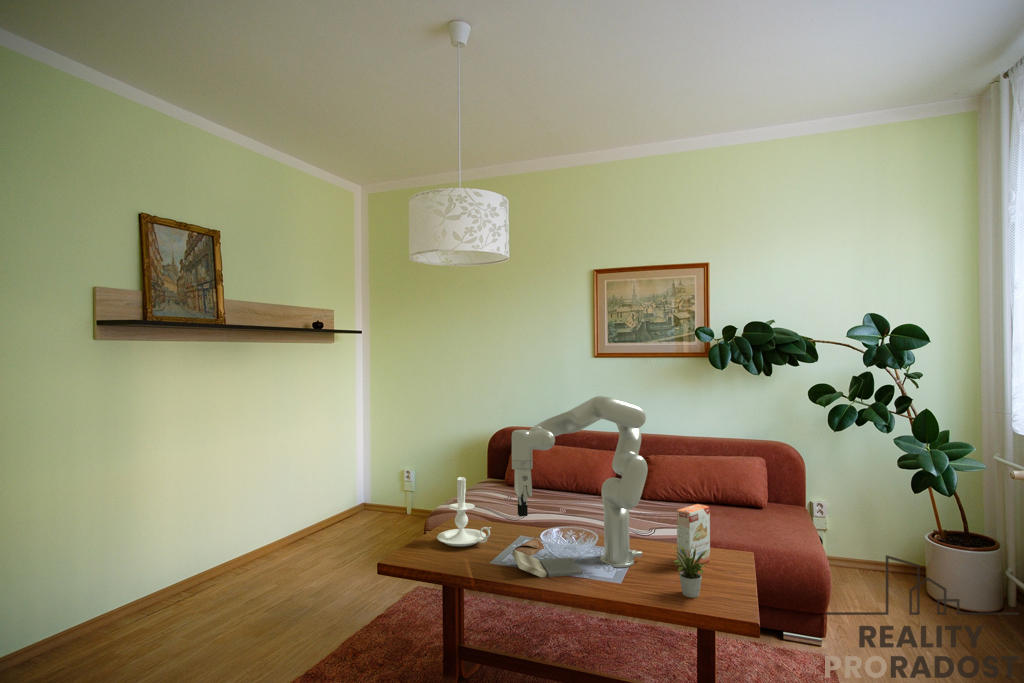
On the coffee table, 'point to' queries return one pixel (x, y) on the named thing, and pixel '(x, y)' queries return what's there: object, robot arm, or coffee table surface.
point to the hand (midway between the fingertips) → (522, 515)
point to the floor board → (560, 567)
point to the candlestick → (462, 522)
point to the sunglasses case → (530, 547)
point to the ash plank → (529, 564)
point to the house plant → (690, 573)
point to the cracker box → (694, 532)
